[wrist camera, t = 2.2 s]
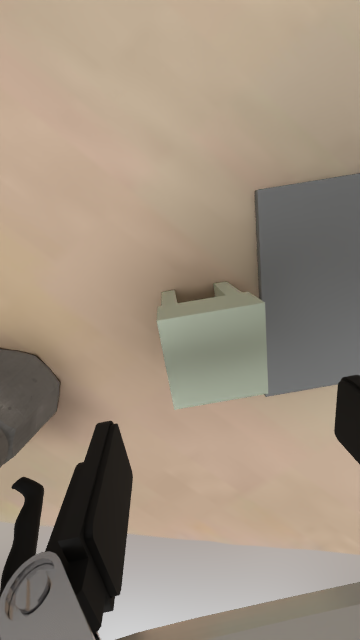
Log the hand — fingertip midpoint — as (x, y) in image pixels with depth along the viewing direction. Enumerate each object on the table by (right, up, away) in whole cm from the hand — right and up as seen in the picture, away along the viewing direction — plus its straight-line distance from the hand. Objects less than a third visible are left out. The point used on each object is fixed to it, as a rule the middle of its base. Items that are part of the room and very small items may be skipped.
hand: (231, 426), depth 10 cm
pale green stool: (0, +5, +13) cm, 14 cm away
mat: (+12, +7, +13) cm, 19 cm away
